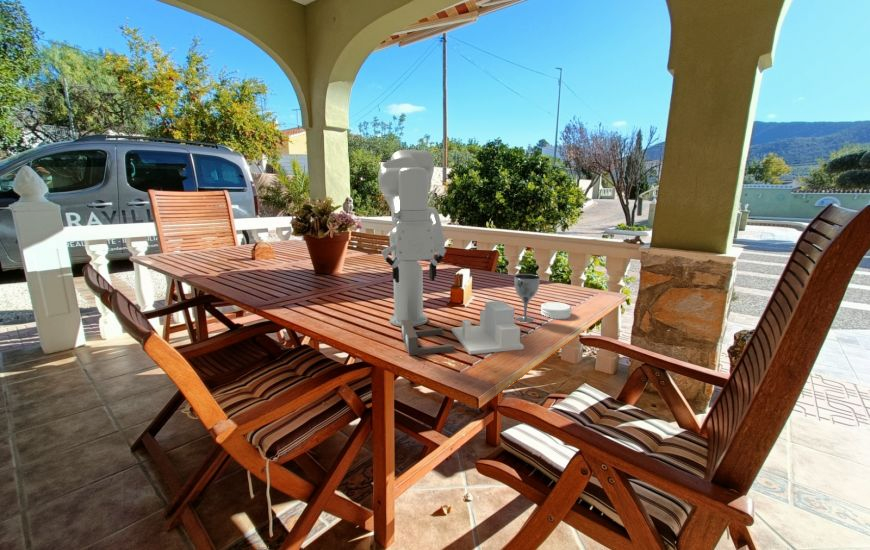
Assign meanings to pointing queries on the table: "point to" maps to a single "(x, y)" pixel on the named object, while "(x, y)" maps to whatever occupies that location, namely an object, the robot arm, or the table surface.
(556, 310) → the white round disc
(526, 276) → the wine glass
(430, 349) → the grey frame
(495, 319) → the stand
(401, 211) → the robot arm
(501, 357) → the table surface
